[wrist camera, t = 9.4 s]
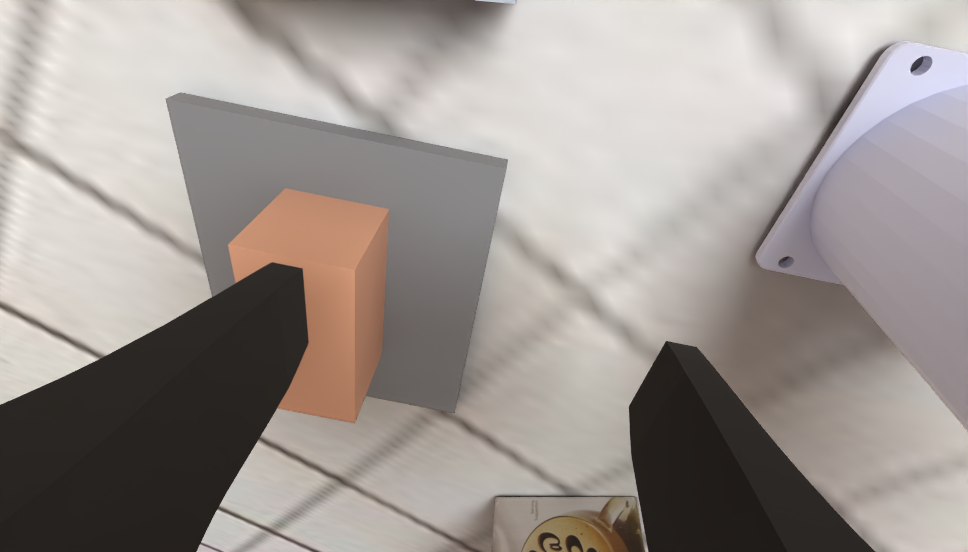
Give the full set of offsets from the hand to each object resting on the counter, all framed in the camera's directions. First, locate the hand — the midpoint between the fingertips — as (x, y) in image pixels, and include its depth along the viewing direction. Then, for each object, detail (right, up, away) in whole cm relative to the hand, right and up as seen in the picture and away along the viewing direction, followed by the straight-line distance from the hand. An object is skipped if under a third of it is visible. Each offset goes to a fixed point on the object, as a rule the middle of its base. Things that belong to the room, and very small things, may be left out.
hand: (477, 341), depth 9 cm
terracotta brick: (-6, +1, +11) cm, 12 cm away
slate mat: (-6, +1, +12) cm, 13 cm away
